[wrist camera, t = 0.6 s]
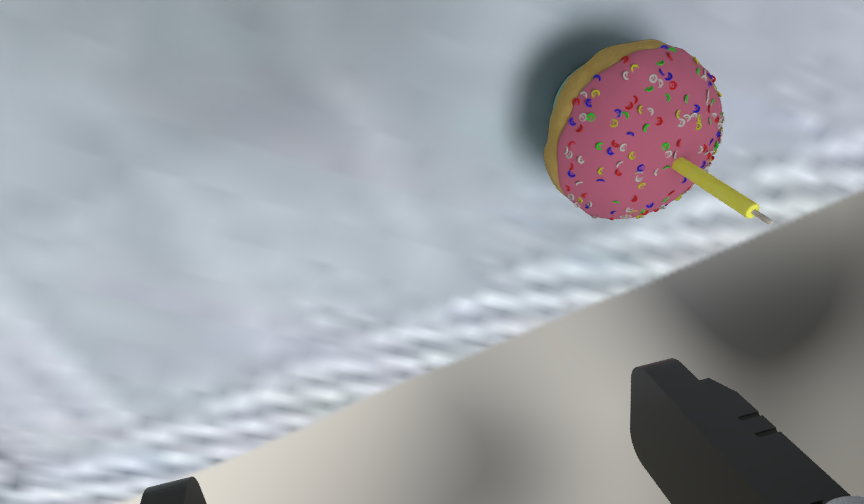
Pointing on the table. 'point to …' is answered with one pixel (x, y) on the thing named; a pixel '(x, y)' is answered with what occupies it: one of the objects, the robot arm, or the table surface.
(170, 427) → the table surface
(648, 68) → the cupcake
